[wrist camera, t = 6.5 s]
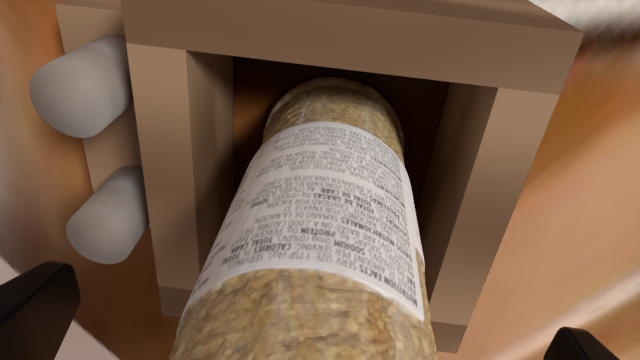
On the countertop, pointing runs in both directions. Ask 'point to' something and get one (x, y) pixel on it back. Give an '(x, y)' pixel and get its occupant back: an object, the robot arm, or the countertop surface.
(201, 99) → the slot block
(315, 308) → the sprinkles bottle
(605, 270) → the countertop surface
